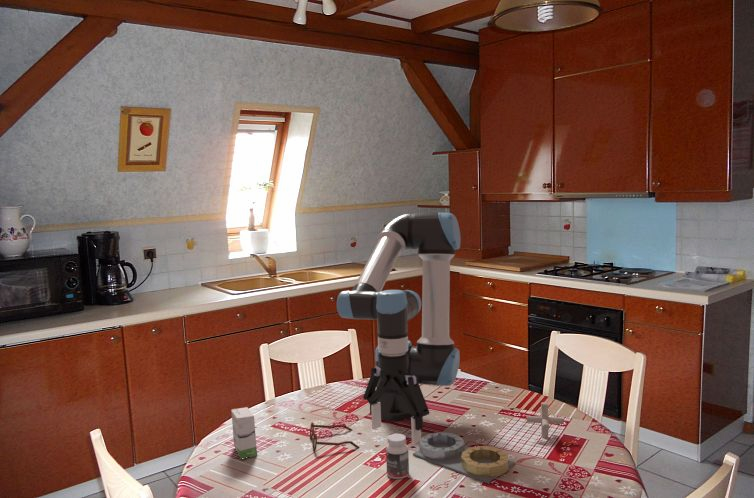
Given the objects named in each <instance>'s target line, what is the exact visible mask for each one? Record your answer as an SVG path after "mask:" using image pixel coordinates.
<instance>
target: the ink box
mask: <svg viewBox="0 0 754 498" xmlns="http://www.w3.org/2000/svg"><path fill="white" fill-rule="evenodd" d="M231 423H232V435H233V448H234V447H235V449H236V450H235V449H234V450H235V452H236V451H237V452H236V454H237V453H238V454H237V455H238V457H239V456H240V457H239V458H241V459H242V458H246V457H250V458H253V456H254V457H257V456H258V448H257V438H256V436H257V435H256V424H255V415H254V414H253V413H252V412H251V410H250V408H249V407H248V406H245V407H240V408H232V409H231ZM256 455H257V456H256ZM241 459H240V460H241ZM246 459H247V458H246ZM242 460H243V459H242Z"/></svg>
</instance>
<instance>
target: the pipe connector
mask: <svg viewBox="0 0 754 498" xmlns="http://www.w3.org/2000/svg"><path fill="white" fill-rule="evenodd" d="M540 404H541V405H540V408H541V410H540V413H539V415H540V416H539V415H538V416H537V415H535V416H533V415H532V416H531V415H526V423H530V424H541V438H542V439H548V438H549V430H550V424H556V425H564V417H560V416H549V403H548V402H547V401H543V402H541V403H540Z"/></svg>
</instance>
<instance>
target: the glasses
mask: <svg viewBox="0 0 754 498" xmlns="http://www.w3.org/2000/svg"><path fill="white" fill-rule="evenodd" d="M315 428H321V429H336V428H344V429H345V430H348V431H349V430H351V431H353V428H351V427H349V426H347V425H345V424H336V425H322V424H314V422H311V423H310V429H309V439H310V440H312V451H313V452H316V450H317V447H318V446H317V445H321V446H324V445H325V446H342V445H346V444H349V445H352V446H353V447H355V448H356V449H360V448H361V447H360V446H359V445H358V444H356V443H354V442H353V441H351V440H349V441H348V440H345V441H341V442H328V441H327V442H326V441H318V435H317V433H316V432H315Z"/></svg>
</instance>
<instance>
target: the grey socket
mask: <svg viewBox="0 0 754 498" xmlns="http://www.w3.org/2000/svg"><path fill="white" fill-rule="evenodd" d="M418 443H419V450H420V452H421V453H422V455H423V456H425V457H427V458H430V459H433V460H444V461H445V460H451V459H456V458H458V457H459V456H461V455H462V452H463V451H464V445H465V440H464V439H463V438H462V437H461V436H460V435H458V434H455V433H451V432H441V431H440V432H439V431H438V432H437V431H436V432H432V433H427V434H426V435H423V436H421V441H419V442H418ZM436 444H448V445H451V447H447V448H436V447H433V446H432V445H436Z"/></svg>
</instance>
